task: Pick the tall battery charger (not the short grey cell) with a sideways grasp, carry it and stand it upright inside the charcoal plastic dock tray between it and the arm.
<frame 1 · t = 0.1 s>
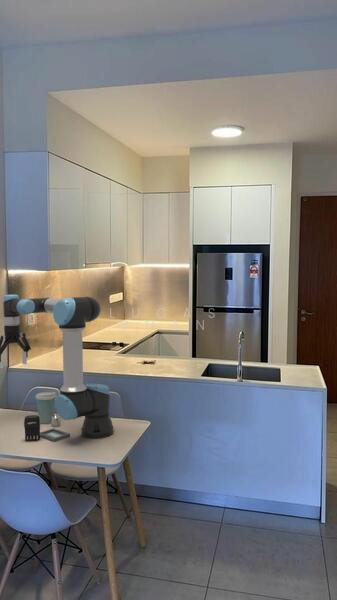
hand: (13, 366, 247), 28 cm above the table, tool pointing down, fingers open, 13 cm apart
disposable coffee cup: (46, 422, 245), on the table
dock: (54, 436, 223), on the table
battery charger: (32, 440, 218), on the table
short grey cell: (55, 425, 238), on the table
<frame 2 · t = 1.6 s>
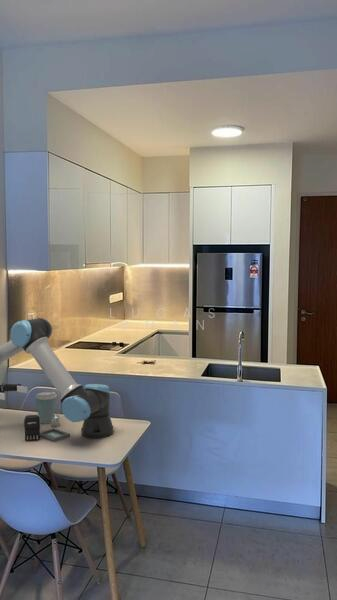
hand: (16, 393, 222), 20 cm above the table, tool horizontal, fingers open, 13 cm apart
nothing on the table moved.
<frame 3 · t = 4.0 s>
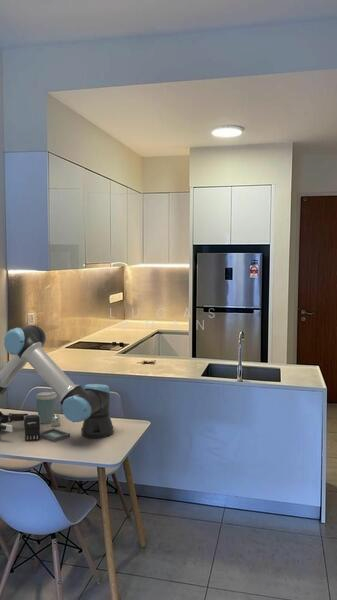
hand: (23, 424, 221), 6 cm above the table, tool horizontal, fingers open, 13 cm apart
nothing on the table moved.
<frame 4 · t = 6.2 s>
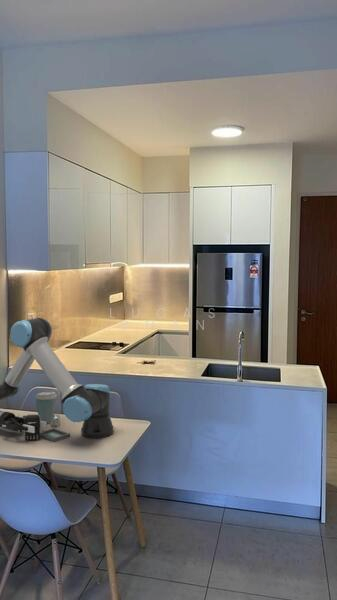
hand: (40, 427, 216), 7 cm above the table, tool horizontal, fingers closed on battery charger, 7 cm apart
battery charger: (32, 440, 218), on the table, touching gripper
everything else where it was.
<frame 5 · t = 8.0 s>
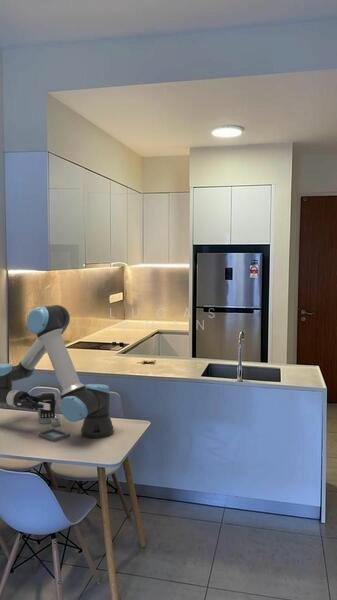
hand: (55, 405, 219), 16 cm above the table, tool horizontal, fingers closed on battery charger, 7 cm apart
battery charger: (47, 418, 221), point 9 cm above the table, touching gripper
everything else where it was.
when the fingers open (8 cm above the table, at t = 10.2 s): battery charger drops 1 cm, resting on dock.
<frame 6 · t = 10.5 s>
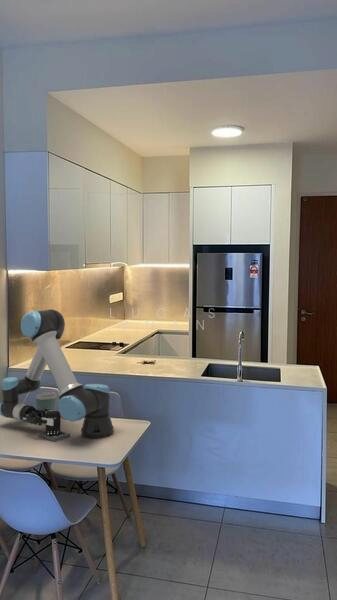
hand: (60, 419, 220), 8 cm above the table, tool horizontal, fingers open, 9 cm apart
battery charger: (53, 435, 223), point 1 cm above the table, touching dock
everything else where it was.
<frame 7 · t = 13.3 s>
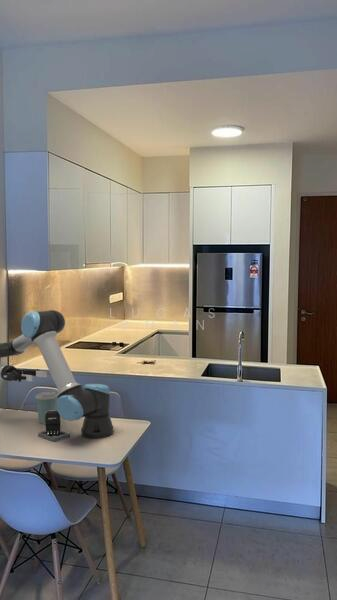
hand: (39, 376, 231), 26 cm above the table, tool horizontal, fingers open, 9 cm apart
nothing on the table moved.
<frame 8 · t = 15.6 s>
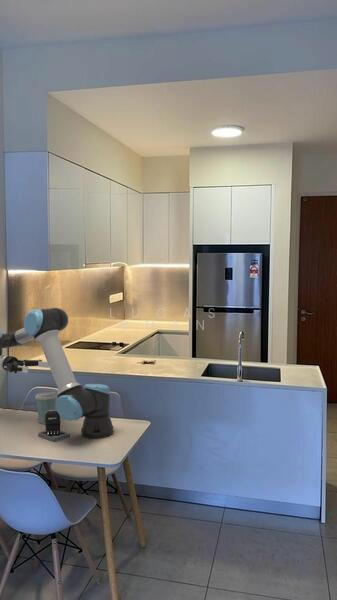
hand: (38, 367, 233), 30 cm above the table, tool horizontal, fingers open, 13 cm apart
nothing on the table moved.
at the end: battery charger inside the target area on the dock (0.6 cm from its centre), point 0.5 cm above the dock's base; battery charger tilted 0°; the gripper is holding nothing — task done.
